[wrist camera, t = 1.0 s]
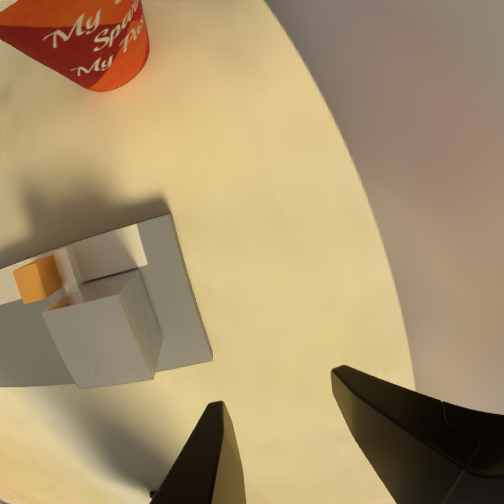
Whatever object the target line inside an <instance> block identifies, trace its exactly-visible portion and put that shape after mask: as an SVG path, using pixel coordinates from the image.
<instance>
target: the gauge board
mask: <svg viewBox="0 0 504 504" xmlns="http://www.w3.org/2000/svg"><path fill="white" fill-rule="evenodd" d="M70 245H72V248H73V252H74V255H75V258H76V261H77V265H78V268H79V271H80V274H81V277H82V280H83V283H88V282H91V281H95V280H99V279H103V278H106V277H110V276H114V275H118V274H121V273H125V272H129V271H133V270H137V269H139V271H140V274H141V277H142V280H143V283H144V286H145V289H146V292H147V295H148V298H149V301H150V304H151V307H152V310H153V312H154V315H155V318H156V321H157V323H158V326H159V329H160V331H161V334H162V336H163V343H162V346H161V350H160V354H159V358H158V363H157V367H156V371H155V372H160V371H165V370H170V369H176V368H181V367H186V366H190V365H195V364H200V363H204V362H209V361H213V353H212V349H211V346H210V343H209V340H208V337H207V334H206V331H205V328H204V325H203V322H202V319H201V316H200V313H199V309H198V306H197V303H196V300H195V296H194V293H193V290H192V287H191V283H190V280H189V276H188V273H187V269H186V266H185V262H184V259H183V255H182V252H181V248H180V244H179V241H178V237H177V233H176V229H175V226H174V222H173V218H172V214H171V213H170V214H166V215H163V216H159V217H155V218H152V219H148V220H145V221H141V222H138V223H134V224H131V225H128V226H124V227H121V228H117V229H114V230H111V231H108V232H104V233H101V234H98V235H95V236H92V237H89V238H85V239H82V240H79V241H76V242H73V243H70V244H67V245H64V246H61V247H58V248H55V249H53V250H50V251H47V252H44V253H41V254H38V255H36V256H33V257H30V258H27V259H25V260H22V261H19V262H17V263H14V264H11V265H9V266H6V267H3V268H1V269H0V387H28V386H47V385H61V384H73V383H75V381H74V379H73V377H72V375H71V374H70V372H69V370H68V368H67V366H66V364H65V362H64V360H63V359H62V357H61V355H60V353H59V351H58V349H57V346H56V344H55V342H54V340H53V338H52V336H51V334H50V331H49V329H48V327H47V325H46V322H45V320H44V318H43V315H42V312H43V311H44V310H45V309H47V308H48V307H49V306H50V305H51V304H53V303H54V302H55V301H56V300H58V299H59V298H60V297H61V296H62V295H64V294H65V293H66V291H65V289H64V286H63V287H62V288H60V289H59V290H58V291H56V292H55V293H54V294H52V295H51V296H50V297H48V298H46V299H42V300H38V301H35V302H31V303H27V304H24V303H23V300H22V297H21V295H20V292H19V289H18V286H17V283H16V280H15V277H14V274H13V271H14V270H16V269H18V268H20V267H22V266H24V265H26V264H28V263H30V262H33V261H35V260H37V259H39V258H42V257H45V256H48V255H51V254H53V252H54V251H56V250H58V249H61V248H64V247H67V246H70Z"/></svg>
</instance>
